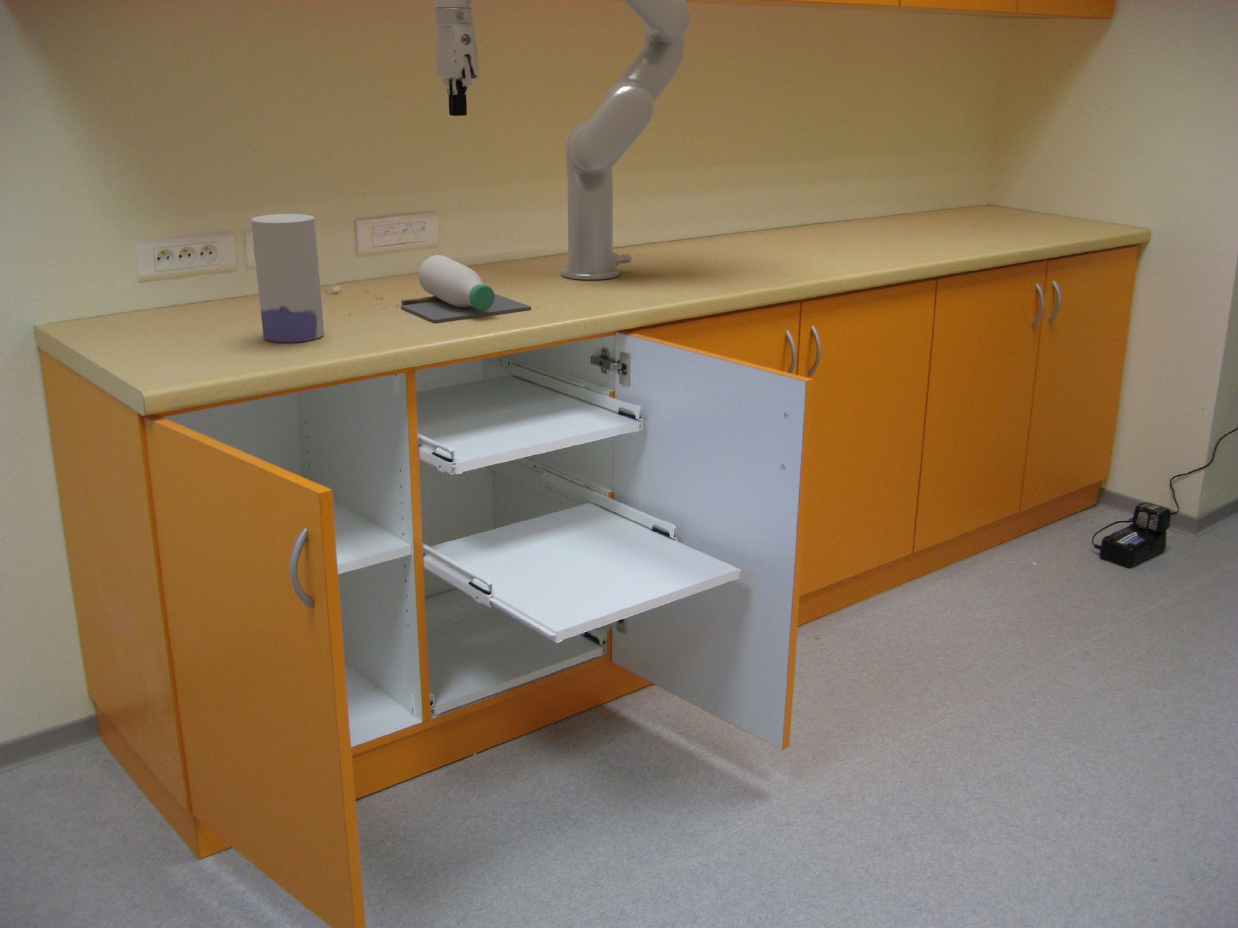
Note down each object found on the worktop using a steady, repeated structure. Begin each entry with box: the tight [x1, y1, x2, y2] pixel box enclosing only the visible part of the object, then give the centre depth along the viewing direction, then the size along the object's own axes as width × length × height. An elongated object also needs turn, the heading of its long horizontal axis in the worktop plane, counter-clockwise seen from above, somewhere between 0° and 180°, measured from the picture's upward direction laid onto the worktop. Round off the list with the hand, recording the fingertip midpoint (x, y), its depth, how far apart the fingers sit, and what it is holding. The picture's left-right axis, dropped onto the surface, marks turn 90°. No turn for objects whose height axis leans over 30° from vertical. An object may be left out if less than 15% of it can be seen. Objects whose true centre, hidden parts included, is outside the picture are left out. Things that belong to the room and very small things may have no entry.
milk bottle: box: [418, 254, 496, 310], centre depth 215 cm, size 8×8×20 cm
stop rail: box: [401, 295, 442, 306], centre depth 222 cm, size 18×1×1 cm, turn 124°
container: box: [250, 213, 325, 343], centre depth 192 cm, size 10×10×20 cm
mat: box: [400, 293, 532, 324], centre depth 216 cm, size 20×14×1 cm
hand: (458, 115), depth 233 cm, fingers closed
